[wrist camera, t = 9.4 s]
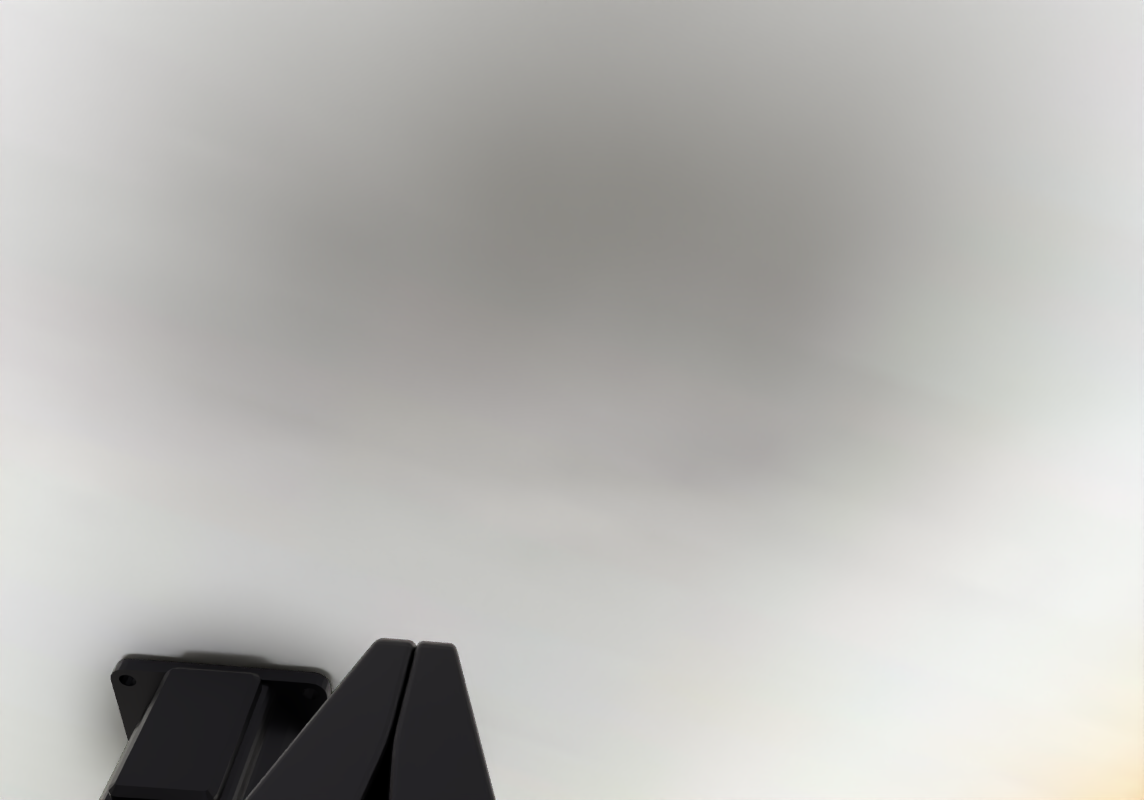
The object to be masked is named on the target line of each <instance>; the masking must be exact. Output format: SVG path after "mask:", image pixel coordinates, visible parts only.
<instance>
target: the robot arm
mask: <svg viewBox="0 0 1144 800" xmlns="http://www.w3.org/2000/svg"><path fill="white" fill-rule="evenodd" d="M111 682H112V685H113V689H114V692H115V696H116V699H117V703H118V706H119V710H120V713H121V717H122V720H123V724H124V727H125V731H126V734H127V738H128V743H127V745H126V747H125V749H124V751H123V753H122V755H121V757H120V759H119V761H118V763H117V765H116V767H115V769H114V771H113V773H112V775H111V777H110V779H109V781H108V783H107V785H106V787H105V789H104V791H103V793H102V795H101V797H100V799H99V800H496V799H495V796H494V792H493V788H492V784H491V780H490V776H489V772H488V768H487V765H486V761H485V757H484V753H483V749H482V745H481V741H480V737H479V733H478V730H477V726H476V722H475V718H474V714H473V710H472V706H471V702H470V698H469V695H468V691H467V687H466V683H465V679H464V675H463V671H462V667H461V664H460V660H459V656H458V652H457V649H456V647H455V646H454V645H453V644H451V643H442V642H429V641H422V642H420V643H418V645H417V646H416V645H415V643H414V642H413V641H411V640H402V639H389V638H381V639H378V640H376V641H375V642H374V643H373V644H372V645H371V646H370V648H369V649H368V650H367V651H366V652H365V654H364V655H363V656H362V657H361V659H360V660H359V661H358V662H357V663H356V665H355V666H354V667H353V668H352V670H351V671H350V672H349V673H348V674H347V676H346V677H345V678H344V679H343V681H342V682H341V683H340V684H339V685H338V687H337V688H336V689H335V690H334V692H333V693H332V694H331V688H330V683H329V680H328V679H327V678H326V677H325V676H323V675H321V674H318V673H313V672H300V671H286V670H273V669H259V668H246V667H233V666H219V665H206V664H192V663H179V662H165V661H152V660H138V659H124V660H121V661H119V662H118V664H117V665H116V667H115V669H114V670H113V672H112V674H111Z"/></svg>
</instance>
